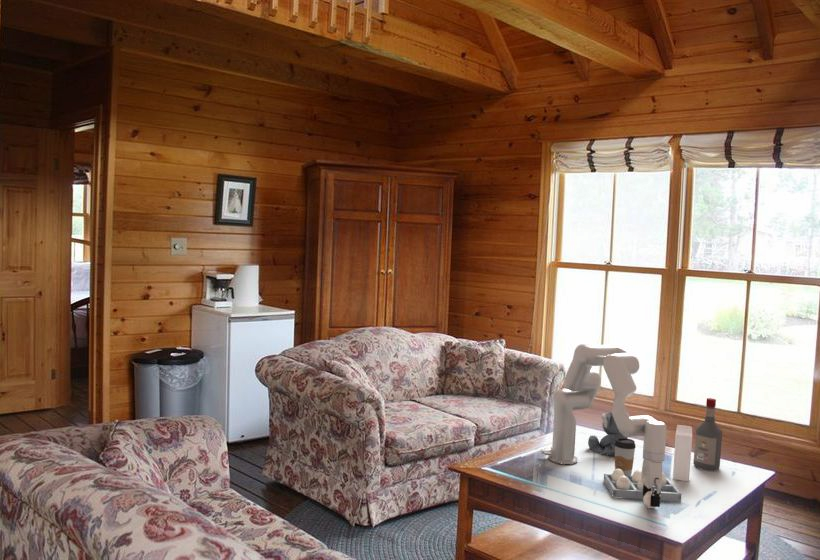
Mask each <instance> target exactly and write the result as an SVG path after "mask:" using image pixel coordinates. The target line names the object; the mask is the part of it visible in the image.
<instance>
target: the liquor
mask: <svg viewBox="0 0 820 560" xmlns="http://www.w3.org/2000/svg"><path fill="white" fill-rule="evenodd" d="M716 402H717V400H716V398H711V397H708V398H706V403H705V405H706V409H705V418H704V421H703V422H701V423H700V424H699V425H698V426H697V427H696V428H695V435H694V436H695V438H694V452H693V466H694V467H695V468H696V469H699V470H700V469H701V470H703V471H707V472H714V471H716V470H717V471H718V470H719V469H720V467H721V455H722V442H723V441H722V440H723V430H722V429H721V427H720V426H719V425H718V424H717V423H716V419H715V414H716V405H717V404H716Z"/></svg>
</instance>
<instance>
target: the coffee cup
mask: <svg viewBox="0 0 820 560" xmlns="http://www.w3.org/2000/svg"><path fill="white" fill-rule="evenodd" d="M614 445H615V456H614V470H615V469H621V470H622V471H623V473H624V475H628V476H632V472H633V467H634V466H633V465H634V461H635V460H634V459H635V458H634V456H635V452H636V442H635V440H633V439H632V438H629V437H628V438H617V439H616V441H615V444H614Z"/></svg>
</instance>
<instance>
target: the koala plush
mask: <svg viewBox="0 0 820 560" xmlns="http://www.w3.org/2000/svg"><path fill="white" fill-rule="evenodd" d="M627 414H628V416H630V414H629V413H628V412H627ZM601 419H602V429H603V431H604V432H605V436H603V437H602V438H601V439H600V440H599V439H598V438H599V437H598V436H596V435H590V436H589V437H588V441H587V445H588V447H589V449H590V451H593V450H594V451H593V452H595V451H596V452H595V453H598V452H599V453H598V454H600V453H601V454H600V455H602V454H603V455H602V456H606V455H607V456H609V457H613V456H614V457H615V445H614V444H615V441H616V439H617V438H628V439H629V437H625V436H623V435H622V434H621V433H620V431H619V429H618V427H617V425H616V423H615V420H614V418H613V414H612V411H611V412H610V411H609V412H608V413H602V414H601Z"/></svg>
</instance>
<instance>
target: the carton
mask: <svg viewBox="0 0 820 560" xmlns="http://www.w3.org/2000/svg"><path fill="white" fill-rule="evenodd" d="M641 475H642V469H636V470H634V472H633V474H631V476H628V475H624V473H623V471H622V470H621V469H615V468H614V470H613V472H612V473H610V474H609V473H608V474H607V473H603V483H604V484H605V487H606V488H607V489H609V490H608V491H609V493H610V492H611V493H610V494H611V496H612V495H613V496H612V498H613V497H622V498H621V499H628V498H635V499H634V500H643V497H644V496H643V482H642V480H641ZM653 487H656V486H653ZM654 491H655V490H654ZM660 494H661V496H660V502H661V501H663V502H665V501H666V502H682V496H683V495H682V493H681V492H680V491H679V489H678V488H677V487H676V486H675V485H674V484H673V482H672V481H671V480H670V479H669V478H668V477H666V474H665V472H663V471H662V487H661V493H660Z"/></svg>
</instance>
